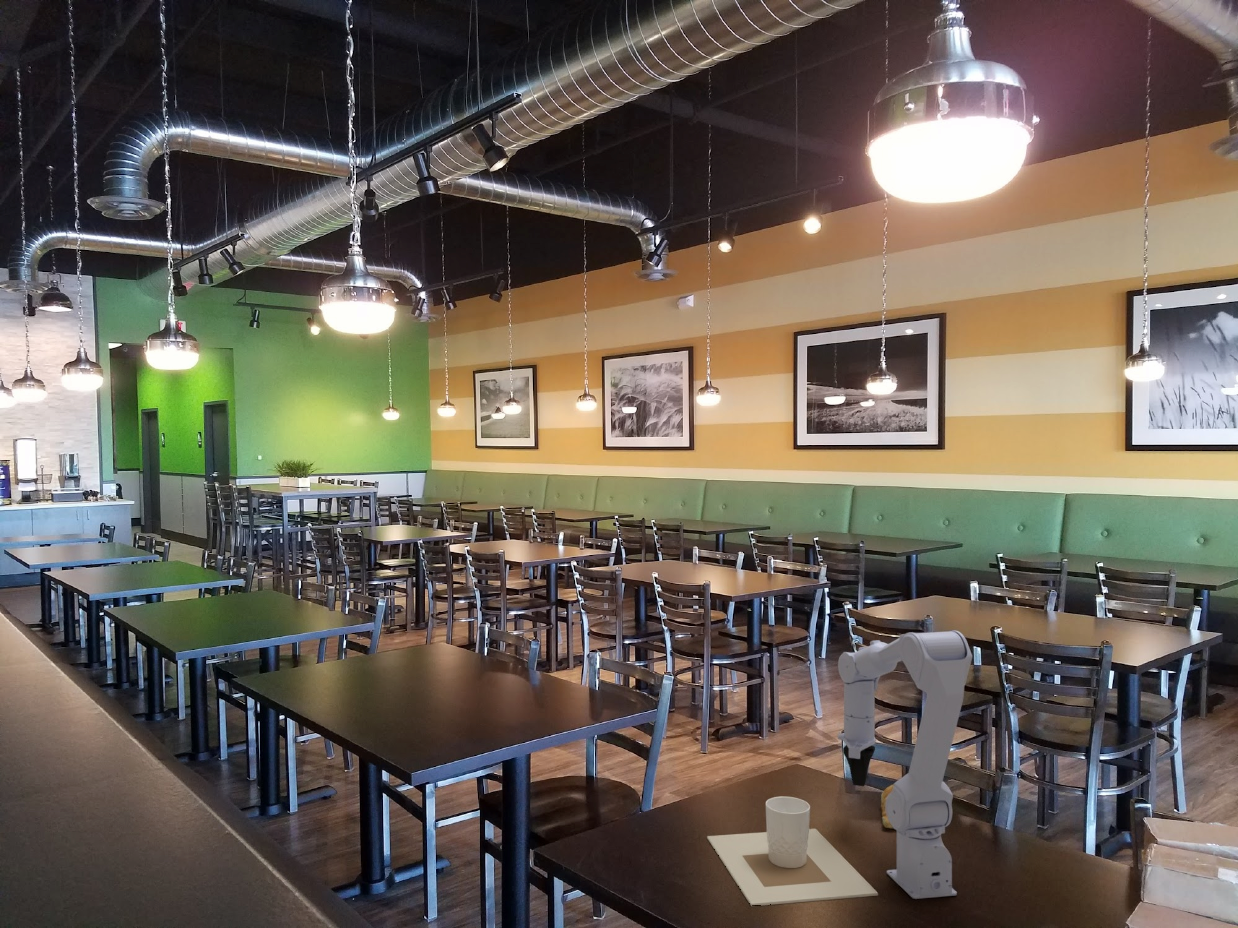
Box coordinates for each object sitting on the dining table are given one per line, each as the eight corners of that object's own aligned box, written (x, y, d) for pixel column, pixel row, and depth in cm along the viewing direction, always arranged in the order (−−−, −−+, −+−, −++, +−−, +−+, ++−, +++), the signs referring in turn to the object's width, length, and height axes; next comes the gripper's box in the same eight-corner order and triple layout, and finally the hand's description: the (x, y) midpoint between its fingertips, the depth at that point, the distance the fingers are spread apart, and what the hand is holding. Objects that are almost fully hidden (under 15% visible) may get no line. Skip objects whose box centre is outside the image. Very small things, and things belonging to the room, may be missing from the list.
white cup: (809, 872, 148) (809, 815, 148) (763, 867, 150) (763, 810, 150) (810, 853, 156) (810, 798, 156) (767, 848, 158) (767, 794, 158)
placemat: (877, 895, 141) (877, 892, 141) (751, 906, 137) (751, 903, 137) (815, 830, 167) (815, 828, 167) (707, 838, 163) (707, 836, 163)
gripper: (843, 702, 173) (843, 769, 173) (832, 721, 159) (832, 794, 159) (879, 706, 170) (879, 774, 170) (871, 726, 157) (871, 799, 156)
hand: (859, 784), depth 164 cm, fingers closed
